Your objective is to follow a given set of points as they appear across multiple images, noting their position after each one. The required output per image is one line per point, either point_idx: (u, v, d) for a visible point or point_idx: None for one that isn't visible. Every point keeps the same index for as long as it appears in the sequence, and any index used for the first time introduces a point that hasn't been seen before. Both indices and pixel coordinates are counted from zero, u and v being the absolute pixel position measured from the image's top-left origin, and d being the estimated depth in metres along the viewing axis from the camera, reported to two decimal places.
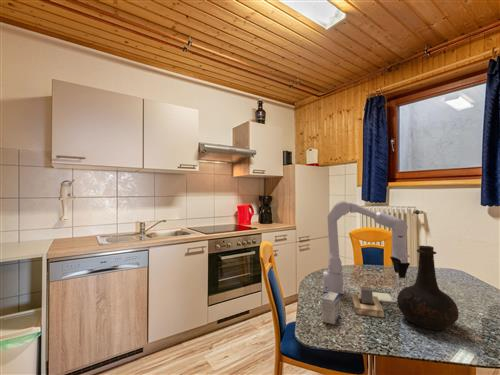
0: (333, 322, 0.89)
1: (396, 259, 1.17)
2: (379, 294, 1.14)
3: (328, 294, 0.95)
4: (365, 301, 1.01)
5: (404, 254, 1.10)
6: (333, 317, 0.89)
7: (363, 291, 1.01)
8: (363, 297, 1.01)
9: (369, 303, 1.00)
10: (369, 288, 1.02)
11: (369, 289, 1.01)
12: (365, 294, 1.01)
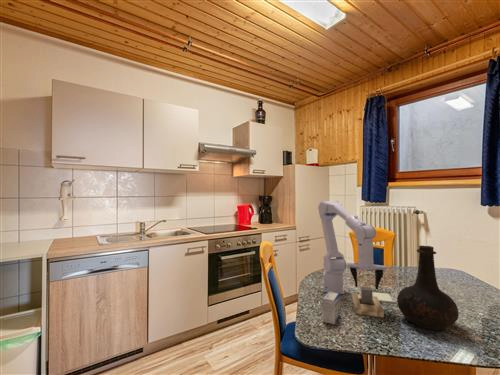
0: (333, 321, 0.89)
1: (375, 272, 1.02)
2: (379, 294, 1.14)
3: (328, 294, 0.95)
4: (365, 301, 1.01)
5: (360, 263, 1.02)
6: (333, 317, 0.89)
7: (363, 291, 1.01)
8: (363, 297, 1.01)
9: (369, 303, 1.00)
10: (369, 288, 1.02)
11: (369, 289, 1.01)
12: (365, 294, 1.01)
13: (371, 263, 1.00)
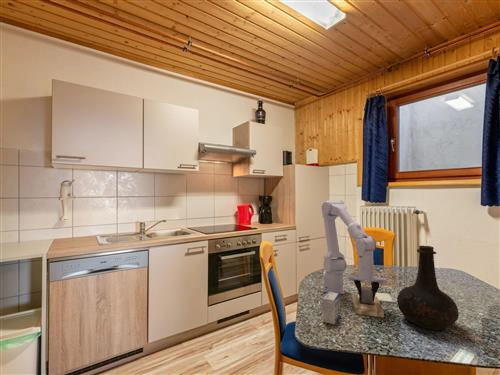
0: (333, 321, 0.89)
1: (371, 284, 1.02)
2: (379, 294, 1.14)
3: (328, 294, 0.95)
4: (365, 300, 1.01)
5: (360, 275, 1.02)
6: (333, 317, 0.89)
7: (363, 291, 1.01)
8: (363, 297, 1.01)
9: (369, 303, 1.00)
10: (369, 288, 1.02)
11: (369, 289, 1.01)
12: (365, 294, 1.01)
13: (371, 275, 1.00)
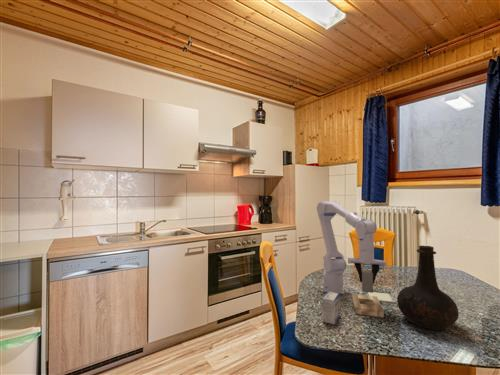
0: (333, 322, 0.89)
1: (372, 267, 1.03)
2: (379, 294, 1.14)
3: (328, 294, 0.95)
4: (365, 283, 1.02)
5: (360, 258, 1.03)
6: (333, 317, 0.89)
7: (363, 273, 1.02)
8: (363, 279, 1.02)
9: (369, 285, 1.01)
10: (370, 271, 1.03)
11: (369, 271, 1.02)
12: (365, 276, 1.02)
13: (372, 258, 1.01)
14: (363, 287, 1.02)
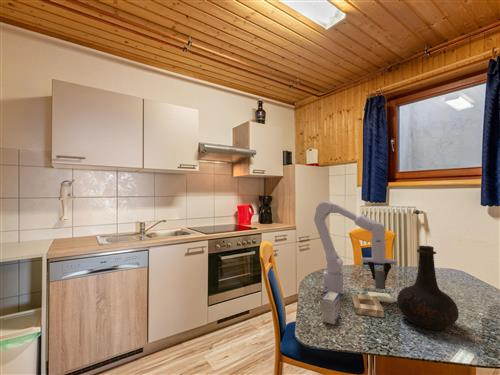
0: (333, 322, 0.89)
1: (384, 266, 1.13)
2: (379, 294, 1.14)
3: (328, 294, 0.95)
4: (378, 280, 1.11)
5: (373, 257, 1.12)
6: (333, 317, 0.89)
7: (376, 272, 1.11)
8: (376, 277, 1.11)
9: (382, 282, 1.10)
10: (382, 269, 1.12)
11: (382, 270, 1.11)
12: (378, 274, 1.11)
13: (384, 257, 1.10)
14: (376, 284, 1.11)
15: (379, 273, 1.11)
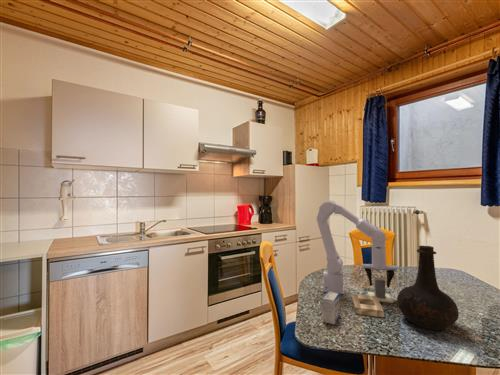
0: (333, 322, 0.89)
1: (387, 272, 1.12)
2: None
3: (328, 294, 0.95)
4: (378, 289, 1.11)
5: (373, 264, 1.12)
6: (333, 317, 0.89)
7: (376, 281, 1.11)
8: (376, 286, 1.11)
9: (382, 292, 1.10)
10: (382, 278, 1.12)
11: (382, 279, 1.11)
12: (378, 284, 1.11)
13: (384, 264, 1.10)
14: (376, 293, 1.11)
15: (379, 282, 1.11)
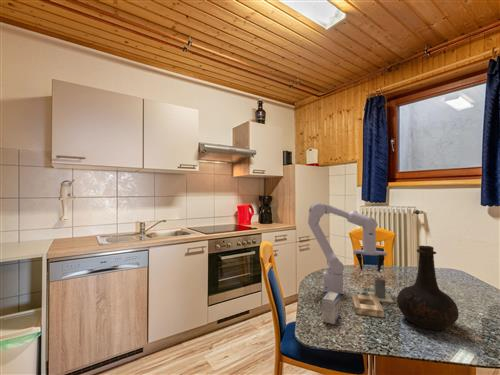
0: (333, 322, 0.89)
1: (378, 257, 1.19)
2: None
3: (328, 294, 0.95)
4: (378, 289, 1.11)
5: (364, 249, 1.19)
6: (333, 317, 0.89)
7: (376, 281, 1.11)
8: (376, 286, 1.11)
9: (382, 292, 1.10)
10: (382, 278, 1.12)
11: (382, 279, 1.11)
12: (378, 284, 1.11)
13: (374, 249, 1.17)
14: (376, 293, 1.11)
15: (379, 282, 1.11)
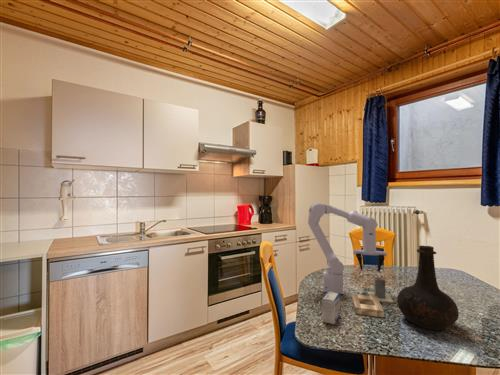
0: (333, 322, 0.89)
1: (378, 257, 1.19)
2: None
3: (328, 294, 0.95)
4: (378, 289, 1.11)
5: (364, 249, 1.19)
6: (333, 317, 0.89)
7: (376, 281, 1.11)
8: (376, 286, 1.11)
9: (382, 292, 1.10)
10: (382, 278, 1.12)
11: (382, 279, 1.11)
12: (378, 284, 1.11)
13: (374, 249, 1.17)
14: (376, 293, 1.11)
15: (379, 282, 1.11)
